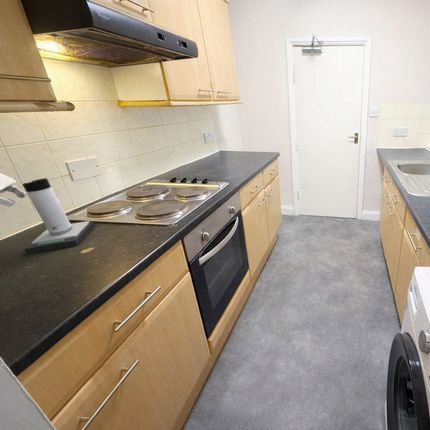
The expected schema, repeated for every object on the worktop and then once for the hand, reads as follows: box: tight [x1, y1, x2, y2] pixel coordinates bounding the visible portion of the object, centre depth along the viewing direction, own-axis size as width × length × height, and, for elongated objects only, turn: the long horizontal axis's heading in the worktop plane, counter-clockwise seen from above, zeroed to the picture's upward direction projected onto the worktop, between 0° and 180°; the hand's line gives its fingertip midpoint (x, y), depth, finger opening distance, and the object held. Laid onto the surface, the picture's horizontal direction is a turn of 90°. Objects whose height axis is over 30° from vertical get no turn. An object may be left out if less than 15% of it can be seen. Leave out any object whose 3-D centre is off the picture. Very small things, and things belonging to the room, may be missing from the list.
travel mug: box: [22, 177, 72, 235], centre depth 93 cm, size 6×7×20 cm
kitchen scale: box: [24, 220, 96, 255], centre depth 97 cm, size 14×16×3 cm
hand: (19, 200), depth 88 cm, fingers open, 8 cm apart
